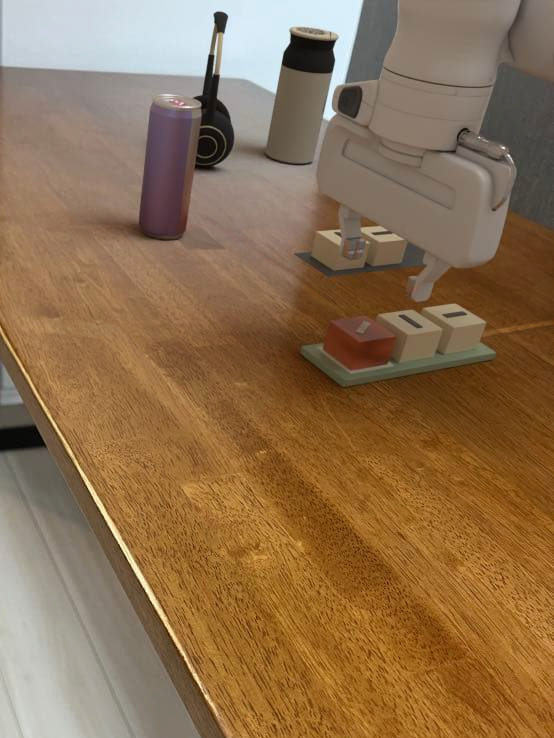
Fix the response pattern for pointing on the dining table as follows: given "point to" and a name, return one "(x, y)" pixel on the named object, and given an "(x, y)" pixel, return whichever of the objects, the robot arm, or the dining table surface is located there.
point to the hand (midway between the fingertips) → (381, 276)
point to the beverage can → (169, 165)
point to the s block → (359, 342)
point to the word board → (414, 345)
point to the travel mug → (301, 95)
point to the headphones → (214, 107)
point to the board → (377, 254)
